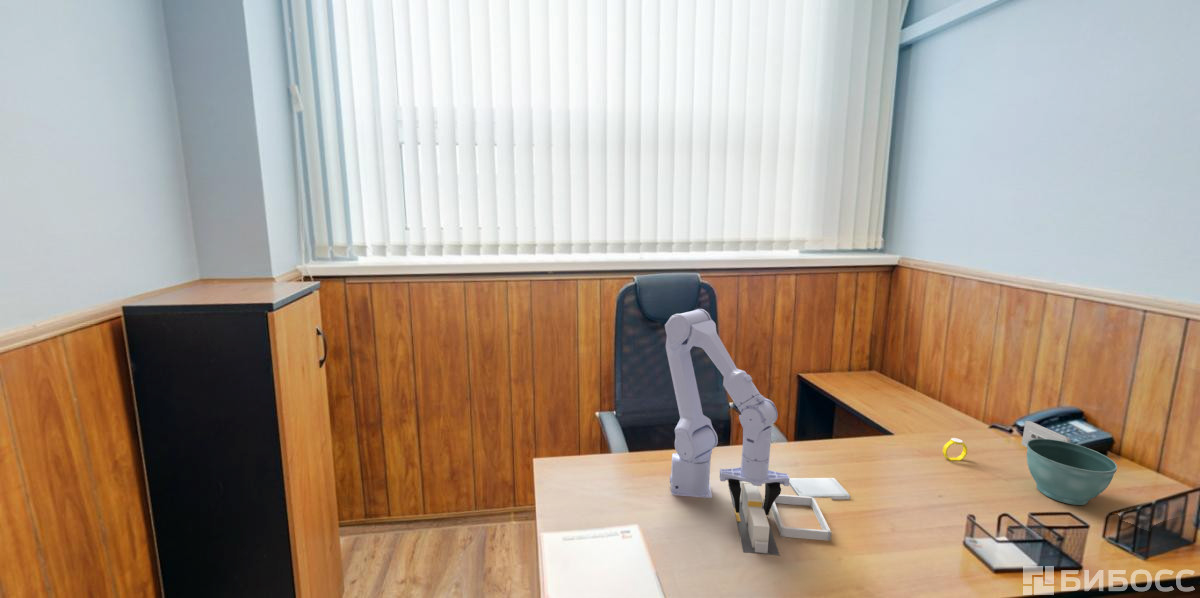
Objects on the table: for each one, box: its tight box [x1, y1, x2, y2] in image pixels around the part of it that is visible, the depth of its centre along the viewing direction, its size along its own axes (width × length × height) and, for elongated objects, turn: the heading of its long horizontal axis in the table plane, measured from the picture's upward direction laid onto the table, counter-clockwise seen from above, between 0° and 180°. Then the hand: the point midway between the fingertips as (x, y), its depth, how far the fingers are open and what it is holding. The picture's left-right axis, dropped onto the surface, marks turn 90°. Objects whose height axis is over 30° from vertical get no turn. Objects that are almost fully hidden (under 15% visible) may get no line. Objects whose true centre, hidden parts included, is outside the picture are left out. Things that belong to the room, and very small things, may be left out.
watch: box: [942, 437, 968, 462], centre depth 142 cm, size 6×3×6 cm, turn 91°
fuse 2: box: [748, 508, 771, 548], centre depth 107 cm, size 3×6×5 cm, turn 173°
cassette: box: [1021, 420, 1071, 449], centre depth 146 cm, size 12×2×8 cm, turn 9°
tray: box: [770, 493, 832, 542], centre depth 114 cm, size 10×13×2 cm
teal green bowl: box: [1026, 438, 1118, 506], centre depth 125 cm, size 16×16×11 cm
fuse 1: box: [740, 481, 752, 502], centre depth 123 cm, size 3×6×5 cm, turn 173°
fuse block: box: [727, 483, 781, 556], centre depth 115 cm, size 7×25×3 cm, turn 173°
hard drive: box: [789, 477, 851, 500], centre depth 127 cm, size 2×8×12 cm
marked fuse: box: [742, 484, 763, 524], centre depth 115 cm, size 3×6×6 cm, turn 173°
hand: (751, 511), depth 115 cm, fingers open, 6 cm apart
